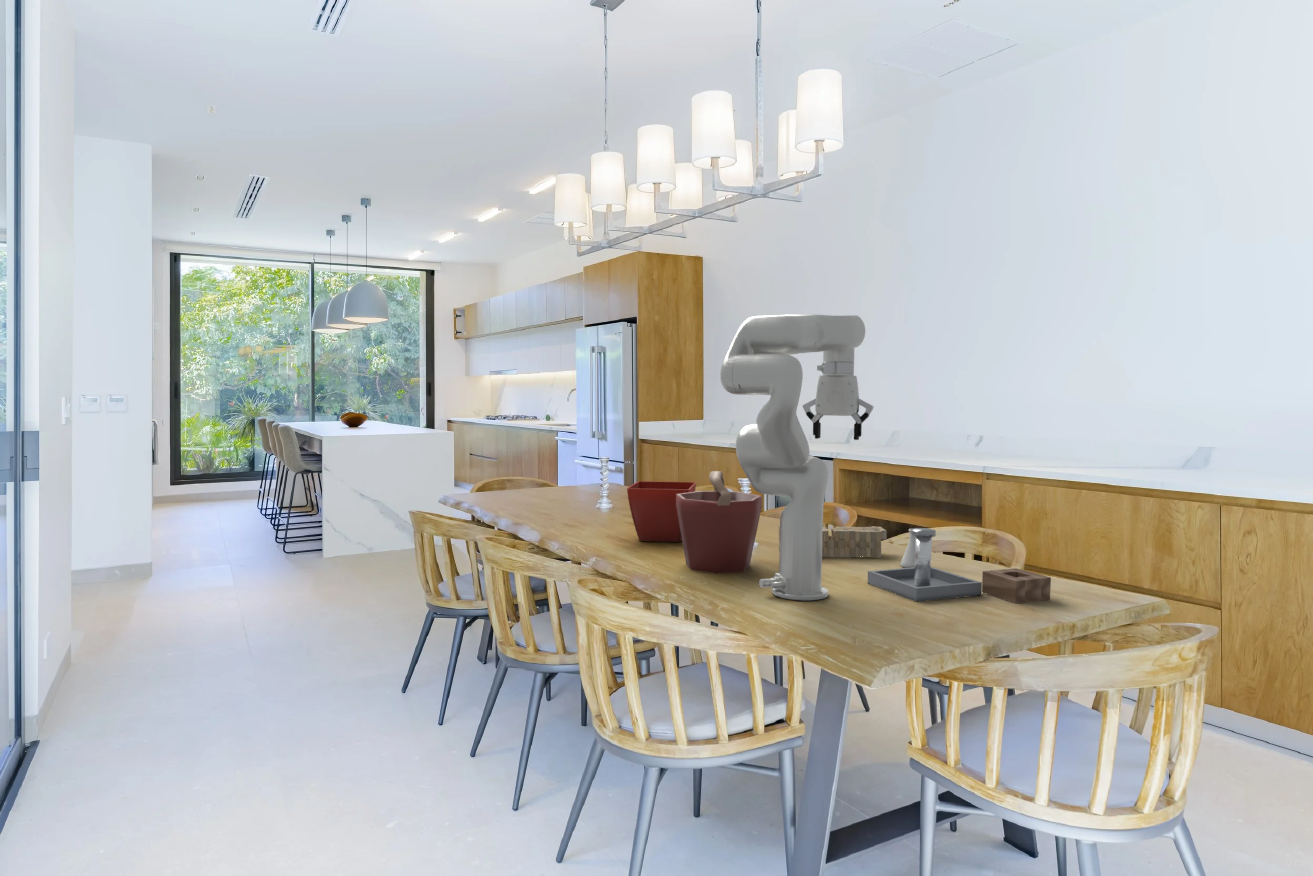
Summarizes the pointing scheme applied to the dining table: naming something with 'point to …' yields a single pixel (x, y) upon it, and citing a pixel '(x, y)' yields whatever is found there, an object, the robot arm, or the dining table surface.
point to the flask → (909, 553)
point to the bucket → (718, 527)
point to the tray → (939, 587)
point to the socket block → (1016, 585)
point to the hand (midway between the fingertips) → (836, 439)
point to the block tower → (851, 541)
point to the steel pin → (923, 556)
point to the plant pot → (657, 509)
